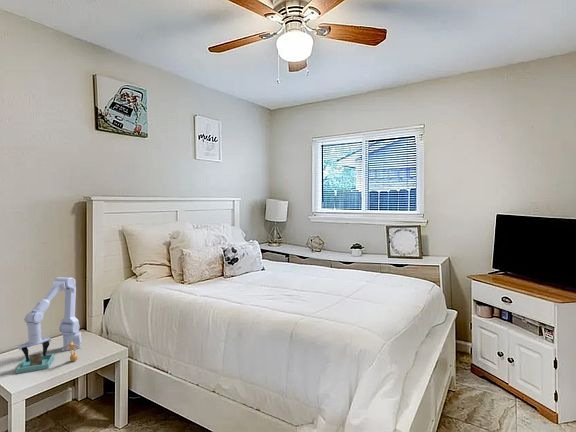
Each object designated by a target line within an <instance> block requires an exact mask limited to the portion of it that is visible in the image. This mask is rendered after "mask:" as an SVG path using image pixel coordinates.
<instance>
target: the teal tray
mask: <svg viewBox="0 0 576 432" xmlns="http://www.w3.org/2000/svg"><path fill="white" fill-rule="evenodd" d="M41 355H42V365H35V366H31V365H30V356H28V357H29V361H27V360H26V357H24V358H23V360H22V361H21V362H20V363H19V365H18V366H17V368H15V369H16V374H17V375H18V374H22V373H23V374H24V373H30V372H36V371H43V370H48V369H49V368H50V366H51V364H52V363H53V361H54V359H55V353H48V354H47V353H46V356H43V354H41Z"/></svg>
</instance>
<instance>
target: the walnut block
mask: <svg viewBox="0 0 576 432" xmlns="http://www.w3.org/2000/svg"><path fill="white" fill-rule="evenodd" d="M42 355H43V354H41V353H40V352H39V353H36V354H35V353H34V354H31V355H29V357H30V365H31V366H35V365H42Z"/></svg>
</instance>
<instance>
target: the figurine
mask: <svg viewBox="0 0 576 432" xmlns="http://www.w3.org/2000/svg"><path fill="white" fill-rule="evenodd" d="M67 346H69V347H70V348H69V350H68V351H70V354H71V355H70V356H69V360H70V362H76V361H77V360H78V358H79V355H78V354H77V353H75V352H76V349H75V348H73V346H77V347H79V346H78V345H75V344H73V342H72V341H71V343H70V344H68V345H66V346H65V348H66V347H67ZM65 348H64V350H65ZM79 349H81V346H80V347H79ZM65 351H66V350H65Z"/></svg>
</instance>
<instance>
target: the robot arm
mask: <svg viewBox="0 0 576 432" xmlns="http://www.w3.org/2000/svg"><path fill="white" fill-rule="evenodd" d="M51 284H52V286H51V287H50V289H49V290H48V292H47V294H46V295H45V297H44V298H43V299H40V300H39V301H38V302H37V303H36V304H35V306H34V307H33V309H32V310H31V311H29V312H27V313H26V314H25V317H24V322H25V323H26V326H27V337H28V341H27V342H25V343H22V344H20V345H18V350H19V351H21V352H23V354H24V356H25V357H24V358H26V360H27V361H29V357H30V356H29V348H30V347H34V346H38V345H41V344H42V355H43V356H46V355H47V351H48V348H49V346H50V343H51V342H52V338H51V337H50V336H49V337H45V338H42V325H41V323H42V321H43V319H44V315H45V312H46V311H47V310H48V309H49V307H50V306H51V301H52V300H53V298H55V297H56V295H57V294H58V293H59V292H61V291H63V292H64V293H65V294H64V297H65V298H64V317H63V319H61V321H60V324H59V332H61V335H62V344H63V346H62V349H61V351H62V352H63V351H65V352H66V351H70V350H69V348H70V347H69V346H67V347H66V348H65V346H66V345H68V344H70V343H71V341H72V342H73V344H75V345H78V346H79V347H80V348H81V346H82V344H83V342H82V332H81V331H80V328H81V326H80V323H79V322H80V321H79V319H78V318H77V317H76V300H77V299H76V297H77V295H76V293H77V287H76V279H75V278H74V277H70V276H69V277H67V276H66V277H65V276H57V277H55V279H54V280H53V281H52V283H51ZM79 347H77V346H73V348H75V350H78V349H80V348H79ZM64 348H65V350H64Z"/></svg>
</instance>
